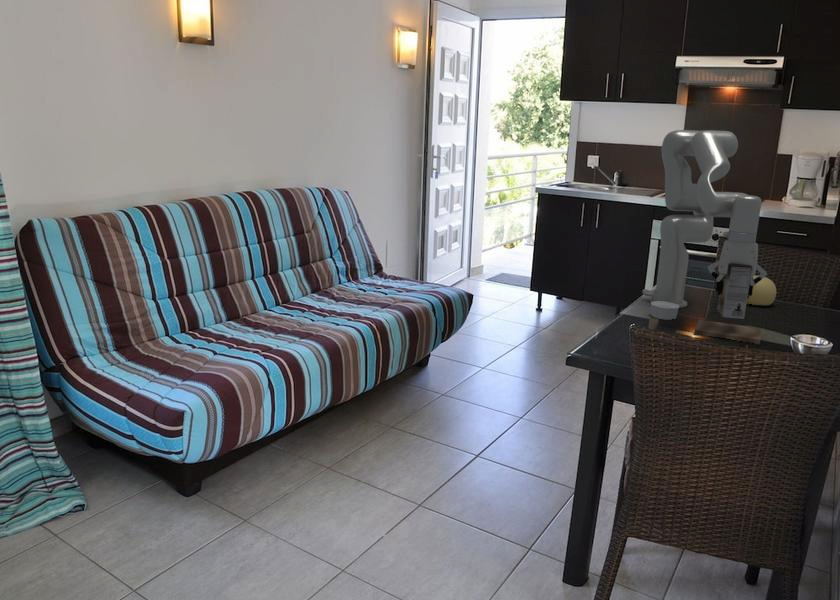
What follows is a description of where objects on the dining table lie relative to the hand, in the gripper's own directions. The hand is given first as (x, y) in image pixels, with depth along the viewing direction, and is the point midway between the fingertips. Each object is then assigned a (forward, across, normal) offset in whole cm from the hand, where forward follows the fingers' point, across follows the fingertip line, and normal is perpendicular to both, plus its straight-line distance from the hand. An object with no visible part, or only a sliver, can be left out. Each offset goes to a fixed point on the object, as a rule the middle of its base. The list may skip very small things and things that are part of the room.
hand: (733, 295), depth 209 cm
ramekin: (+12, -20, +10) cm, 26 cm away
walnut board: (+12, 0, 0) cm, 12 cm away
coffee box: (+6, 0, 0) cm, 6 cm away
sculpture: (+12, +7, +49) cm, 51 cm away
